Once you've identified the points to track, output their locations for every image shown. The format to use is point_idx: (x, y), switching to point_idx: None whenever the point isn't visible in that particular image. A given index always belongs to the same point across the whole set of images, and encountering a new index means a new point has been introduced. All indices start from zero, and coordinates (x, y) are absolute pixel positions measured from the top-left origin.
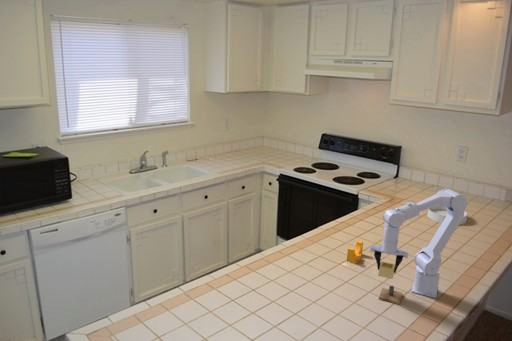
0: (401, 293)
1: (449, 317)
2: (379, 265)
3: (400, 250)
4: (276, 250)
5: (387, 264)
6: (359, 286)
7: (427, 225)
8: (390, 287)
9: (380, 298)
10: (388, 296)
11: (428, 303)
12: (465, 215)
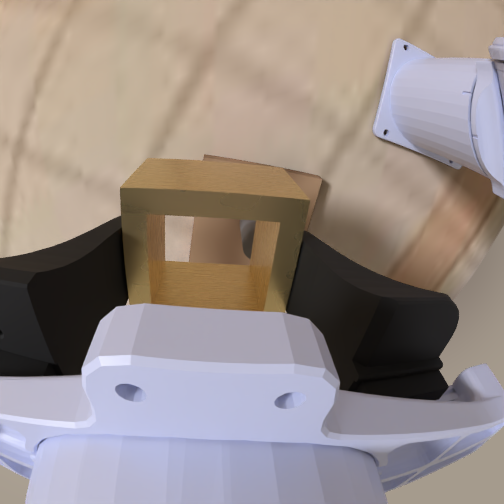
0: (314, 188)
1: (445, 287)
2: (125, 303)
3: (453, 428)
4: None
5: (210, 210)
6: (79, 166)
7: None
8: (248, 256)
9: (198, 262)
10: (238, 244)
11: (418, 218)
12: None
